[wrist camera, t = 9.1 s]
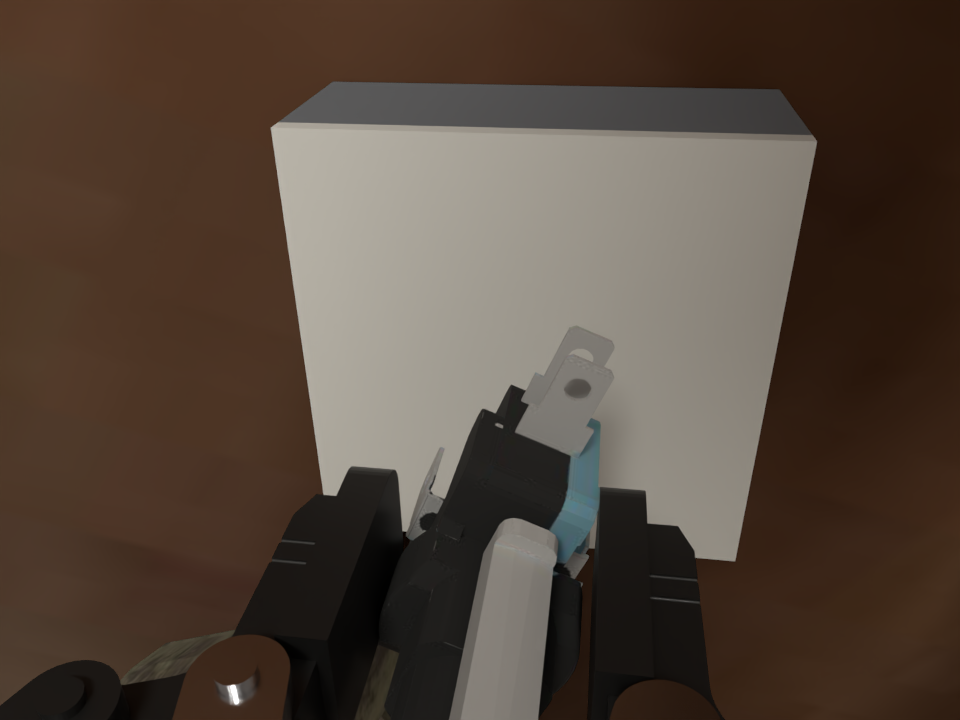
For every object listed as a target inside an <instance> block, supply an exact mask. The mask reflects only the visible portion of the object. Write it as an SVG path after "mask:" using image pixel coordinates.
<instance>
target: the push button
mask: <svg viewBox="0 0 960 720" xmlns="http://www.w3.org/2000/svg"><path fill="white" fill-rule="evenodd" d="M576 349H585V350H587V351H589V352H590V353H591V354H592V356H593V362H591V361H589V360H587V359H584V358H582V357H580V356H577V355H575V354H572V355H569V354H570V353H571V352H572V351H573V350H576ZM613 351H614V344H613V342H612V340H609V339H607V338H605V337H602V336H600V335H598V334H595V333H593V332H591V331H589V330H586V329H584V328H582V327H579V326H577V325H576V326H573V327H569V329H568V331H567V333H566V335H565V337H564V339H563V341H562V342H561V344H560V346H559V348H558V350H557V352H556V354H555V356H554V358H553V359H552V361H551V363H550V365H549V367H548V369H547V371H546V373H545V374H544V376H543V375H541V374H538V373H536V372H535V374H534V376H533V378H532V380H531V382H530V384H529V386H528V387H527V389H526V390H523V389H521V388H519V387H516V386H514V385H510V387H509V388H508V390H507V392H506V394H505V396H504V398H503V400H502V402H501V404H500V406H499V408H498V410H497V412H496V413H493V412H491V411H489V410H486V409H482V410H481V411H480V413H479V415H478V417H477V419H476V421H475V423H474V425H473V427H472V429H471V431H470V434H469V436H468V438H467V441H466V444H465V446H464V449H463V452H462V455H461V457H460V460H459V463H458V465H457V468H456V471H455V473H454V476H453V479H452V481H451V484H450V487H449V489H448V492H447V495H446V497H445V499H444V498H441V497H439V496H436V495H434V494H433V493H432V491H430V490H431V488H432V486H433V484H434V481H435V478H436V475H437V471H438V468H439V465H440V462H441V459H442V455H443V452H444V449H445V448H442V447H440V448H439V450H438V452H437V454H436V456H435V458H434V461H433V463H432V465H431V467H430V469H429V471H428V473H427V475H426V478H425V480H424V482H423V485H422V487H421V490H420V493H419V496H418V499H417V502H416V505H415V508H414V511H413V514H412V517H411V521H410V526H409V528H408V530H407V533H406V537H407V538H408V539H410V542H409V545H408V546H407V547H406V548H405V550H404V551H403V553H402V554H401V556H400V558H399V560H398V562H397V565H396V568H395V571H394V574H393V577H392V580H391V583H390V586H389V589H388V592H387V595H386V598H385V601H384V604H383V607H382V610H381V613H380V618H379V638H380V639H379V643H378V645H380V646H382V647H385V648H387V649H390V650H392V651H395V652H398V653H399V656H398V659H397V663H396V666H395V670H394V673H393V677H392V680H391V683H390V687H389V690H388V694H387V697H386V701H385V704H384V708H385V710H386V711H387V713H388V714H389V716H390V717H391V718H390V720H538V718H539V717H540V716H541V714H542V713H543V711H544V710H545V709H546V707H547V706H548V705H549V703H550V702H551V700H552V694H554V693H555V692H557V691H558V690H559V689H560V688H561V687H562V686H563V685H564V684H565V683H566V682H567V681H568V680H569V678H570V676H571V675H572V673H573V672H574V670H575V667H576V664H577V662H578V658H579V650H580V636H581V617H582V599H583V595H582V588H581V587H582V585H583V583H581V582H579V581H577V580H575V578H576V576H577V575H578V573H579V572H580V570H581V569H582V567H583V566H584V564H585V563H586V561H587V560H588V558H589V555H587V554H586V552H587V550H588V549H589V545H590V529H591V528H592V526H593V524H594V522H595V519H596V516H597V513H598V509H599V503H600V487H598V483H599V458H600V434H601V424H600V422H599V421H597V420H595V419H592V418H591V417H592V415H593V414H594V412H595V410H596V408H597V407H598V405H599V403H600V402H601V400H602V398H603V397H604V395H605V393H606V392H607V390H608V388H609V387H610V385H611V383H612V381H613V380H614V375H613V373H612V370H610V369H608V368H605V367H604V366H605V365H606V363H607V361H608V359H609V358H610V356H611V354H612V352H613ZM591 389H592V390H591ZM590 391H591V393H590V394H589V392H590ZM588 394H589V395H588Z"/></svg>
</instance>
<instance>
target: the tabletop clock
mask: <svg viewBox="0 0 960 720" xmlns="http://www.w3.org/2000/svg"><path fill="white" fill-rule="evenodd" d="M234 632H235V630H232V631H227V632H222V633H217V634H211V635H206V636H201V637H196V638H190V639H185V640H180V641H175V642H169V643H166V644H164V645H163V646H162V647H160V648H159V649H158V650H156V651H155V652H153V653H152V654H151V655H149V656H148V657H147V658H145V659H144V660H142V661H141V662H140V663H138V664H137V665H136V666H134V667H133V668H132V669H131V670H130V671H129V672H128V673H127V674H126V675H125V676H124V677H123V678H122V679H121V680H120V683H121V685H126V684H131V683H137V682H143V681H149V680H155V679H160V678H166V677H171V676H176V675H180V674H182V673H185V672H187V671H188V669H189V668H190V666H191V664H192V663H193V662H194V661H195V660H196V658H197V657H198V656H199V655H201V654H202V653H203V652H204V651H205V650H207V649H208V648H209V647H211V646H212V645H214V644H216V643H218V642H220V641H222V640H225V639H227V638H231V637H232V635H233V634H234ZM398 656H399V653H398V652H395V651H392V650H390V649H387V648H385V647H382V646H380V645H378V646H377V649H376V652H375V655H374V659H373V662H372V665H371V668H370V672H369V675H368V678H367V681H366V684H365V688H364V691H363V694H362V697H361V700H360V704H359V707H358V710H357V713H356V717H355V720H390V718H391V717H390V716H389V714H388V713H387V711H386V710H385V708H384V704H385V701H386V697H387V694H388V690H389V687H390V683H391V680H392V677H393V673H394V670H395V666H396V663H397V659H398Z"/></svg>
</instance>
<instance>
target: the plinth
mask: <svg viewBox="0 0 960 720" xmlns="http://www.w3.org/2000/svg"><path fill="white" fill-rule="evenodd" d="M271 132H272V139H273V146H274V153H275V160H276V167H277V174H278V181H279V188H280V195H281V202H282V209H283V216H284V223H285V230H286V236H287V243H288V250H289V257H290V264H291V271H292V278H293V285H294V292H295V299H296V306H297V313H298V320H299V327H300V334H301V341H302V348H303V355H304V362H305V368H306V375H307V382H308V389H309V396H310V403H311V410H312V417H313V424H314V431H315V438H316V445H317V452H318V459H319V466H320V473H321V480H322V487H323V494H324V495H331V496H336V495H337V493H338V491H339V489H340V487H341V484H342V482H343V480H344V478H345V475H346V473H347V471H348V469H349V468H350V467H351V466H357V467H370V468H382V469H394V470H396V472H397V474H398V481H399V493H400V506H401V519H402V531H405V532H407V530H408V528H409V526H410V521H411V517H412V514H413V511H414V508H415V505H416V502H417V499H418V496H419V493H420V490H421V487H422V485H423V482H424V480H425V478H426V475H427V473H428V471H429V469H430V467H431V465H432V463H433V461H434V458H435V456H436V454H437V452H438V450H439V448H440V447H442V448H445V449H444V452H443V455H442V459H441V462H440V465H439V468H438V471H437V475H436V478H435V481H434V484H433V486H432V488H431V490H430V491H432V493H433V494H434V495H436V496H439V497H441V498H444V499H445V497H446V495H447V492H448V489H449V487H450V484H451V481H452V479H453V476H454V473H455V471H456V468H457V465H458V463H459V460H460V457H461V455H462V452H463V449H464V446H465V444H466V441H467V438H468V436H469V434H470V431H471V429H472V427H473V425H474V423H475V421H476V419H477V417H478V415H479V413H480V411H481V410H482V409H486V410H489V411H491V412H493V413H496V412H497V410H498V408H499V406H500V404H501V402H502V400H503V398H504V396H505V394H506V392H507V390H508V388H509V387H510V385H514V386H516V387H519V388H521V389H523V390H526V389H527V387H528V386H529V384H530V382H531V380H532V378H533V376H534V374H535V372H536V373H538V374H541V375H543V376H544V374H545V373H546V371H547V369H548V367H549V365H550V363H551V361H552V359H553V358H554V356H555V354H556V352H557V350H558V348H559V346H560V344H561V342H562V341H563V339H564V337H565V335H566V333H567V331H568V329H569V327H573V326H576V325H577V326H579V327H582V328H584V329H586V330H589V331H591V332H593V333H595V334H598V335H600V336H602V337H605V338H607V339H609V340H612V342H613V344H614V351H613V352H612V354H611V356H610V358H609V359H608V361H607V363H606V365H605V366H604V367H605V368H608V369H610V370H612V373H613V375H614V380H613V381H612V383H611V385H610V387H609V388H608V390H607V392H606V393H605V395H604V397H603V398H602V400H601V402H600V403H599V405H598V407H597V408H596V410H595V412H594V414H593V415H592V417H591V418H592V419H595V420H597V421H599V422H600V424H601V434H600V458H599V483H598V487H609V488H622V489H634V490H645V491H646V503H647V523H649V524H660V525H672V526H678V527H679V528H680V530H681V531H682V533H683V534H684V536H685V537H686V539H687V540H688V542H689V543H690V545H691V546H692V548H693V549H694V551H695V558H703V559H714V560H725V561H735V559H736V554H737V549H738V544H739V539H740V534H741V529H742V524H743V518H744V513H745V508H746V503H747V498H748V493H749V488H750V483H751V477H752V472H753V467H754V462H755V457H756V452H757V447H758V442H759V437H760V431H761V426H762V421H763V416H764V411H765V406H766V401H767V396H768V391H769V385H770V380H771V375H772V370H773V365H774V360H775V355H776V350H777V344H778V339H779V334H780V329H781V324H782V319H783V314H784V309H785V304H786V298H787V293H788V288H789V283H790V278H791V273H792V268H793V263H794V258H795V252H796V247H797V242H798V237H799V232H800V227H801V222H802V217H803V212H804V206H805V201H806V196H807V191H808V186H809V181H810V176H811V171H812V165H813V160H814V155H815V150H816V145H817V141H816V139H815V138H814V136H813V135H812V134H811V132H810V131H809V130H808V128H807V127H806V125H805V124H804V123H803V121H802V120H801V119H800V117H799V116H798V114H797V113H796V112H795V110H794V109H793V107H792V106H791V105H790V103H789V102H788V101H787V99H786V98H785V96H784V95H783V94H782V92H781V91H780V90H779V89H721V88H663V87H605V86H547V85H490V84H432V83H374V82H332V83H331V84H329V85H328V86H327V87H325V88H324V89H323V90H321V91H320V92H318V93H317V94H316V95H314V96H313V97H312V98H310V99H309V100H308V101H306V102H305V103H304V104H302V105H301V106H300V107H298V108H297V109H295V110H294V111H293V112H291V113H290V114H289V115H287V116H286V117H285V118H283V119H282V120H281V121H279V122H278V123H277V124H275V125H274V126H273V127H271ZM572 354H575V355H577V356H580V357H582V358H584V359H587V360H589V361H591V362H593V356H592V354H591V353H590V352H589V351H587V350H585V349H576V350H573V351H572V352H571V353H570V354H569V355H572ZM591 390H592V389H591ZM590 393H591V391H590V392H589V394H590ZM589 394H588V395H589ZM597 514H598V513H597ZM596 527H597V516H596V519H595V522H594V524H593V526H592V528H591V529H590V545H589V548H593V549H595V540H596Z"/></svg>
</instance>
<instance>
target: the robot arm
mask: <svg viewBox="0 0 960 720" xmlns="http://www.w3.org/2000/svg"><path fill="white" fill-rule="evenodd" d="M402 553H403V531H402V519H401V506H400V493H399V481H398V474H397V472H396V470H394V469H382V468H370V467H357V466H351V467H350V468H349V469H348V471H347V473H346V475H345V478H344V480H343V482H342V484H341V487H340V489H339V491H338V493H337V495H336V496H331V495H319V494H316V495H315V496H314V497H313V498H312V499H311V500H310V501H308V502H307V503H306V504H305V505H304V506H303V507H302V508H300V509H299V510H298V511H297V512H296V513H295V514H294V515H293V517H292V519H291V521H290V523H289V525H288V527H287V529H286V531H285V533H284V535H283V537H282V542H281V543H279V545H278V547H277V549H276V551H275V553H274V555H273V557H272V562H271V563H269V564H268V566H267V568H266V570H265V572H264V574H263V576H262V578H261V580H260V582H259V584H258V586H257V588H256V590H255V592H254V594H253V596H252V598H251V600H250V602H249V604H248V606H247V608H246V610H245V612H244V614H243V616H242V618H241V620H240V622H239V624H238V626H237V628H236V630H235V632H234V634H233V635H232V637H231V638H227V639H225V640H222V641H220V642H218V643H216V644H214V645H212V646H211V647H209V648H208V649H207V650H205V651H204V652H203V653H202V654H201V655H199V656H198V657H197V658H196V660H195V661H194V662H193V663H192V664H191V666H190V668H189V669H188V671H187V672H185V673H182V674H180V675H176V676H171V677H166V678H160V679H155V680H149V681H143V682H137V683H131V684H126V685H121V683H120V680H119V677H118V675H117V673H116V672H115V671H114V670H113V669H112V668H111V667H110V666H108V665H106V664H104V663H102V662H97V661H91V660H81V661H73V662H69V663H65V664H62V665H59V666H56V667H54V668H52V669H49V670H47V671H46V672H44V673H42V674H40V675H39V676H37V677H36V678H35V679H33V680H32V681H30V682H29V683H28V684H27V685H25V686H24V687H23V688H22V689H20V690H19V691H18V692H17V693H15V694H14V695H13V696H12V697H10V698H9V699H8V700H7V701H6V702H4V703H3V704H2V705H1V706H0V720H355V717H356V713H357V710H358V707H359V704H360V700H361V697H362V694H363V691H364V688H365V684H366V681H367V678H368V675H369V672H370V668H371V665H372V662H373V659H374V655H375V652H376V649H377V646H378V643H379V639H380V638H379V618H380V613H381V610H382V607H383V604H384V601H385V598H386V595H387V592H388V589H389V586H390V583H391V580H392V577H393V574H394V571H395V568H396V565H397V562H398V560H399V558H400V556H401V554H402ZM587 720H725V719H724V718H723V717H722V715H721V714H720V712H719V711H718V709H717V707H716V705H715V703H714V700H713V698H712V695H711V690H710V684H709V675H708V666H707V658H706V649H705V640H704V631H703V622H702V613H701V606H700V596H699V587H698V583H697V569H696V560H695V551H694V549H693V548H692V546H691V545H690V543H689V542H688V540H687V539H686V537H685V536H684V534H683V533H682V531H681V530H680V528H679V527H678V526H672V525H660V524H649V523H647V503H646V491H645V490H634V489H622V488H609V487H600V503H599V509H598V514H597V527H596V540H595V552H594V566H593V583H592V606H591V634H590V661H589V689H588V717H587Z"/></svg>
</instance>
